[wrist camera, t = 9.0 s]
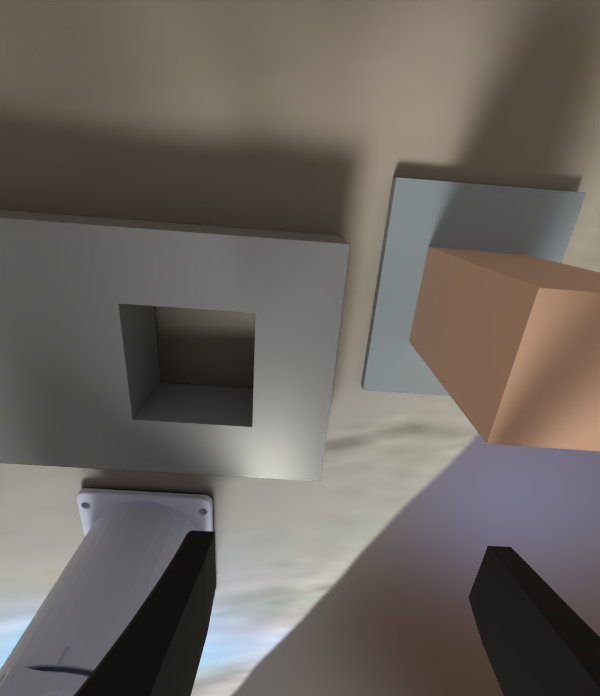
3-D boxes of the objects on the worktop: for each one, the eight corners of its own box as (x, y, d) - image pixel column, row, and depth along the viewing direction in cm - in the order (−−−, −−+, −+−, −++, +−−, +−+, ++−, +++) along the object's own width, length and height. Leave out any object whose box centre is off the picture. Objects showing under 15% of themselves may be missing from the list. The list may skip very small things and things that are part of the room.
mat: (508, 394, 20) (514, 399, 19) (361, 384, 19) (363, 390, 19) (575, 193, 16) (585, 192, 15) (392, 178, 15) (396, 177, 15)
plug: (498, 348, 18) (640, 453, 10) (408, 341, 18) (486, 443, 10) (527, 255, 16) (721, 302, 9) (428, 246, 16) (538, 287, 9)
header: (317, 436, 21) (321, 481, 17) (31, 419, 20) (-21, 461, 17) (339, 235, 16) (349, 244, 13) (-22, 207, 16) (-104, 210, 13)
